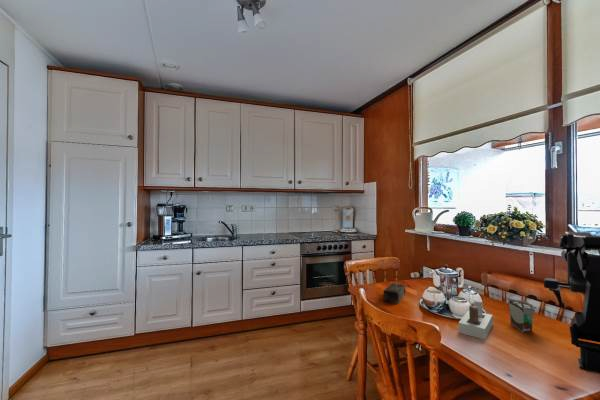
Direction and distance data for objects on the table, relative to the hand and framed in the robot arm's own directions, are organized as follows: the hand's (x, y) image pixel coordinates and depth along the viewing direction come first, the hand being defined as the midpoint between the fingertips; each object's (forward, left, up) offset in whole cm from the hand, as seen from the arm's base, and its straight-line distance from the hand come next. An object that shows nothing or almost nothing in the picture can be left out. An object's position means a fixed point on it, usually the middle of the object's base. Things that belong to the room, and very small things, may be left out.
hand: (579, 311), depth 100 cm
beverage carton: (+10, +73, -14) cm, 75 cm away
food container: (+8, +16, -13) cm, 22 cm away
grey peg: (0, +31, -13) cm, 34 cm away
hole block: (-5, +31, -13) cm, 34 cm away
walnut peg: (-9, +31, -13) cm, 35 cm away
